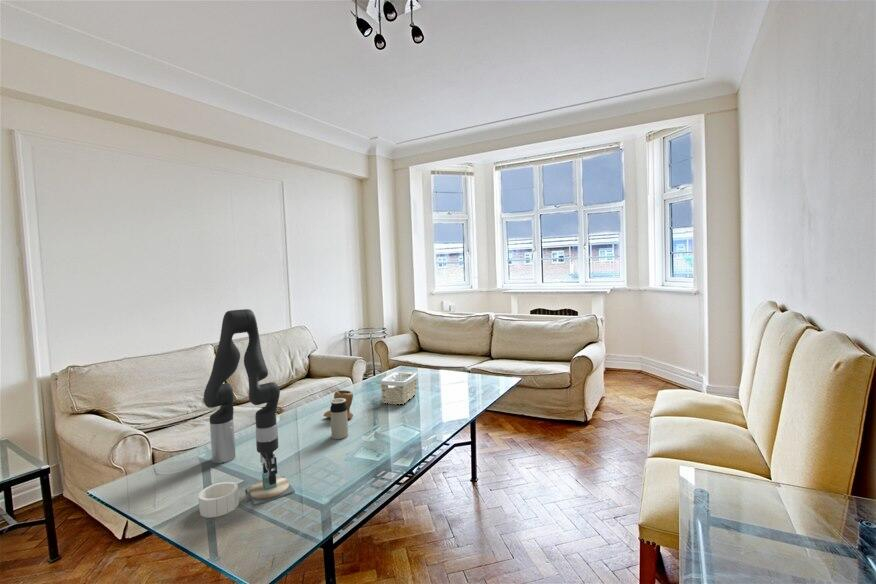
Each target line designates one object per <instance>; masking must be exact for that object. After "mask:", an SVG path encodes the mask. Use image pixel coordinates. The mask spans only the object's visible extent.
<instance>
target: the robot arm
mask: <svg viewBox="0 0 876 584" xmlns="http://www.w3.org/2000/svg"><path fill="white" fill-rule="evenodd" d="M244 333H247V335H248V343H247V347H246V350H245V353H244V356H243V365H244V368H245V372H246V375H247V378H248V379H247V381H248V399H249V401H250V403H251V404H252V405H253V406H259V405H260V406H261V405H264V404H265V406H264V407H262V408H260V409H258V410H257V411H256V412H255V445H256V452H257V453H259V454H260V464H261V466H262V474H264V473H268V475H269V484H270V485H273V484H275V483H276V477H277V474H278V465H277V463H278V462H277V457H276V455H275V454H274V452H275V451H276V450H277V449H278V448H279V435H278V425H277V409H278V404H279V401H280V400H279V399H280V395H281V391H280V390H281V389H280V387H279V385H278V383H276V382H273V381H272V382H271V381H270V382H267V383H262V384H259V382H261V381H263V380H264V379H266V378H267V377H268V376H269V371H268V370H269V369H268V368H267V365H266V362H265V359H264V356H263V355H264V354H263V352H262V347H261V340H260V334H259V329H258V322H257V318H256V315H255V313H254V311H253V310H252V309H249V308H247V309H246V308H244V309H233V310H227V311H226V312H225V313H224V315H223V318H222V324H221V330H220V337H219V341H218V346H217V349H216V353H215V355H214V361H213V365H212V369H211V374H210V376H209V379H208V381H207V384H206V386H205V388H204V392H203V403H204V406H205V407H206V408H218V407H219V408H218V409H217V410H216V411H215V412H213V413H211V414H210V416H209V430H210V432H209V433H210V444H211V459H212V460H211V461H212V462H213V463H214V464H222V463H221V462H224V463H227V462H230V461H233V460H234V459H235V458H236V440H235V438H236V437H235V425H234V409H235V408H234V390H233V387H232V385H231V384H230V383H229V382H226V381H227V380H228V379H229V378H231V377H232V376H233V375H234V373H235V372H236V370H237V369H238V366H239V363H240V359H241V352H240V350H239V349H238V346H237V345H236V344H235V343H234V341H233V337H234V335H236V334H244ZM272 469H273V470H272ZM275 474H276V476H275Z"/></svg>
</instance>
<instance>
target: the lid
mask: <svg viewBox="0 0 876 584" xmlns="http://www.w3.org/2000/svg"><path fill="white" fill-rule="evenodd" d="M275 476H276V483H275V484H273V485H270V484H269V475H268V473H264V474H263V473H262V474H261V480H260V481H257V482H255V483H254V484H253V485H251V486H252V487H251V486H250V487H251V488H250V496H251V497H253V498H255V499H269V498H273V497H276V496H279V495H281V494H282V493H284V492H285V491H286V490H287V489H288V488H289V484H290V481H289V479H287V478H286V477H285V478H282V477H283V476H277V474H275ZM250 496H249V497H250Z"/></svg>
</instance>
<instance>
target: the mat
mask: <svg viewBox="0 0 876 584" xmlns="http://www.w3.org/2000/svg"><path fill="white" fill-rule="evenodd" d="M281 477H282V478H286V477H285V476H281ZM252 486H253V485H250V486H247V487H245V490H246V492H247V495H248V496H249V498H250V500H251V501H252V504H253V506H254V507H255V506H258V505H260V504H265V503H268V502H271V501H272V500H276V499H279V498H282V497H283V498H284V497H285V496H288V494H289V495H290V493H292V494H294V493H295V492H296V490H295V489H294V488H293V486H292V485H291V484H290V483H289V488H288V489H287V490H286V491H285V492H284V493H282V494H281V495H279V496H276V497H273V498H269V499H255V498H253V497H251V496H250V488H251V487H252ZM293 492H294V493H293Z"/></svg>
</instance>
